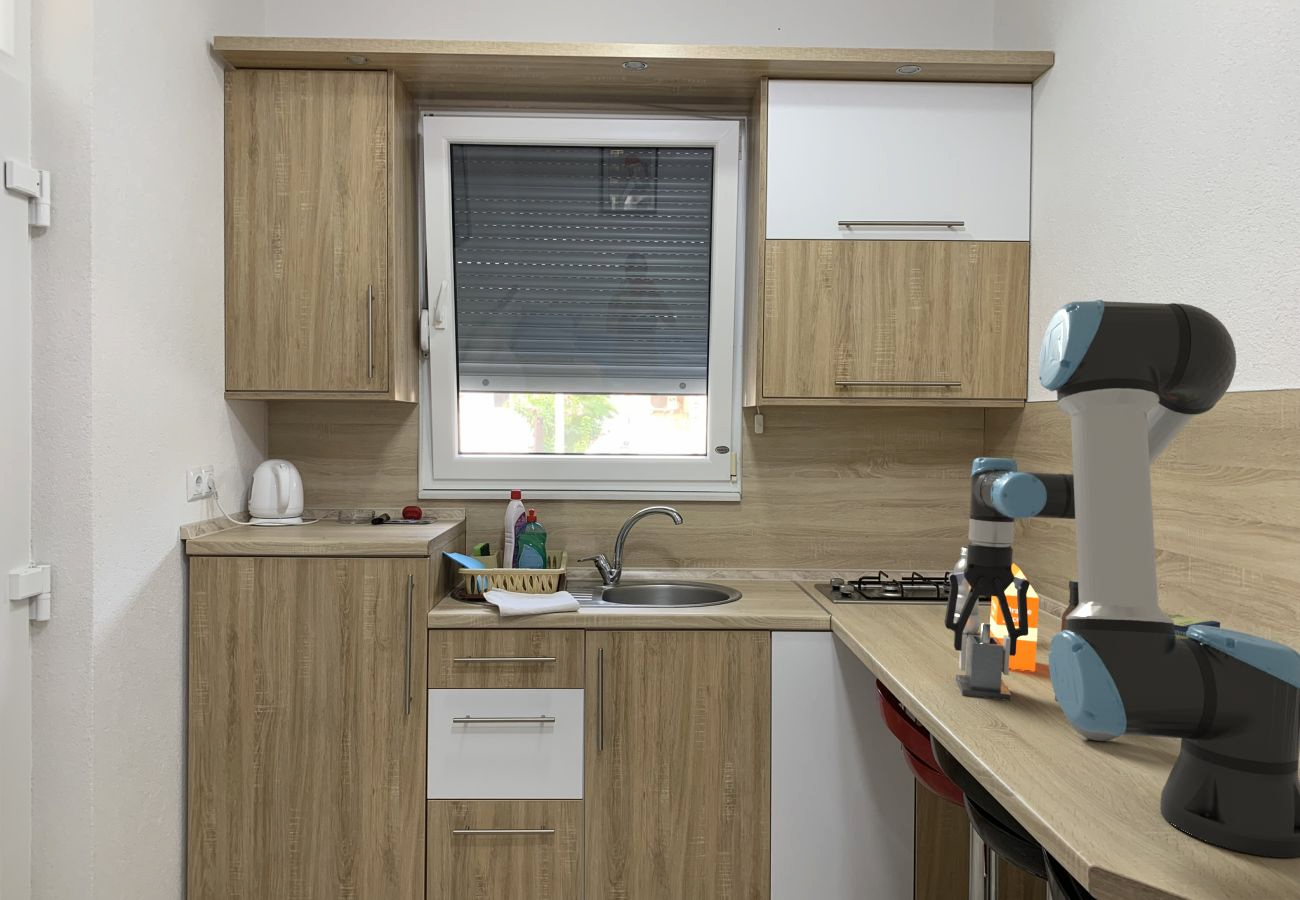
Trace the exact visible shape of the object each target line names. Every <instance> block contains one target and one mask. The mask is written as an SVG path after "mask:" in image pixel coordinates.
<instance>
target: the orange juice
mask: <svg viewBox="0 0 1300 900" xmlns="http://www.w3.org/2000/svg"><path fill="white" fill-rule="evenodd" d="M1012 573H1013V575H1014V577H1018V578H1021V579H1022V578H1025V579H1026V580H1027V581H1029V580H1028V579H1027V577H1026V576H1025V574H1024V573H1023V571H1022V570H1021V569H1020V568H1019V566H1017V565H1016V564H1015V563H1014V562H1012ZM1014 585H1015V584H1014V583H1013V582H1012V583H1011V584H1010V586H1009V587H1008V588H1007V589H1006V590H1005V591H1004V592H1005V595H1006V598H1007V603H1008V606H1009V609H1010V612H1011V615H1012V619H1013V622H1014V625H1015V628H1019V624H1018V604H1017V589H1016V588H1015V587H1014ZM1039 601H1040V597H1039V595H1037V592H1036V591H1035V589H1034V588H1033V587H1032V585H1031V584H1030V585H1029V588H1028V591H1027V612H1028V632H1029V633H1028V635H1027V636H1020V637H1018V638H1017V644H1016V654H1015V656H1010V657H1009V668H1011V669H1010V670H1015V669H1021V670H1020V671H1024V670H1031V671H1030V672H1034V671H1035V672H1036V656H1037V642H1038V620H1039V607H1040V606H1039V603H1040V602H1039ZM990 602H991V603H990V616H989V617H990V618H989V623H990V624H991V628H990V637H997V638H998V640H999V641H1000V642H1001V644H1002V645H1003V635H1008V631H1007V628H1006V625H1005V621H1004V618H1003V615H1002V612H1001V609H1000V605H999V602H998V599H997V597H995V596H991V601H990Z"/></svg>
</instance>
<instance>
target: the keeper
mask: <svg viewBox="0 0 1300 900" xmlns="http://www.w3.org/2000/svg"><path fill="white" fill-rule="evenodd" d="M990 628H991V624H990V622H980V635H979V636H980V643H986V644H990ZM955 682H956V683H957V686H958V688H959V691H960V690H961V691H960V694H961V695H962V696H965V695H969V696H968V697H974V696H979V697H978V698H984V697H987V698H986V699H993V698H997V699H996V700H1003V699H1005V700H1004V701H1011V700H1012V694H1011V692H1010V690H1009V689H1008V687H1007V686H1006V683H1005V682H1004V680H1003V679H1002V678H1001V691H993V690H984V689H974V688H970V686H969V684H968V682H967V679H966V674H965V675H964V674H955Z"/></svg>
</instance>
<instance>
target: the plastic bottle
mask: <svg viewBox="0 0 1300 900" xmlns="http://www.w3.org/2000/svg"><path fill="white" fill-rule="evenodd" d="M967 554H968V546H962V547H960V554H959V555H960V556H961V558H959V560H958V561H957V562H956V563H955V565H954V566H953V567H954V568H953V573H954V574H957V573H963V572H964V570H965V569H966V566H967ZM958 588H959V589H958V597H957V603H956V609H955V615H954V623H956V622H957V620H958V618H959V615H960V613H961V611H962V609H963V606H964V604H965V602H966V599H967V597H968V594H969V591H970V589H971V586H970V585H969V583H968V582H967V580H966V579H963V580H962V584H961V585H959V586H958ZM979 610H980V609H979V598H978V599H977V601H976V603H975V605H974V607H973V610H972V612H971V614H970V616H969V619H968V621H967V623H966V626H965V628H964V630H963V631H964V632H966V634H968V635H976V634H977V633H978V632H979V631H980V628H981V619H980V615H979V614H980V613H979V612H980V611H979Z"/></svg>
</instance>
